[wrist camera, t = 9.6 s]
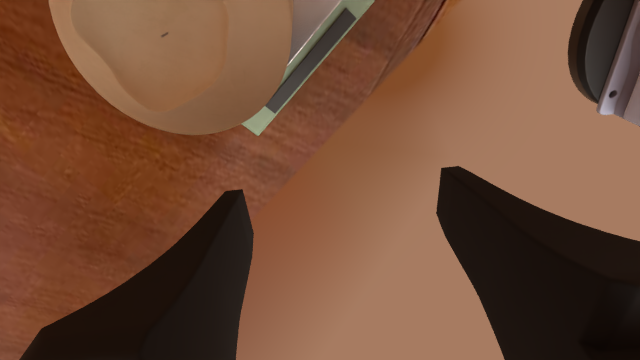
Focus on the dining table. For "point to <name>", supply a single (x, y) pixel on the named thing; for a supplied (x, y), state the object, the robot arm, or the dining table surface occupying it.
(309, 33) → the thin square metal plate
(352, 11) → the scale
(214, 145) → the dining table surface
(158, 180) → the dining table surface
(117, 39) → the candle
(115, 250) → the dining table surface
